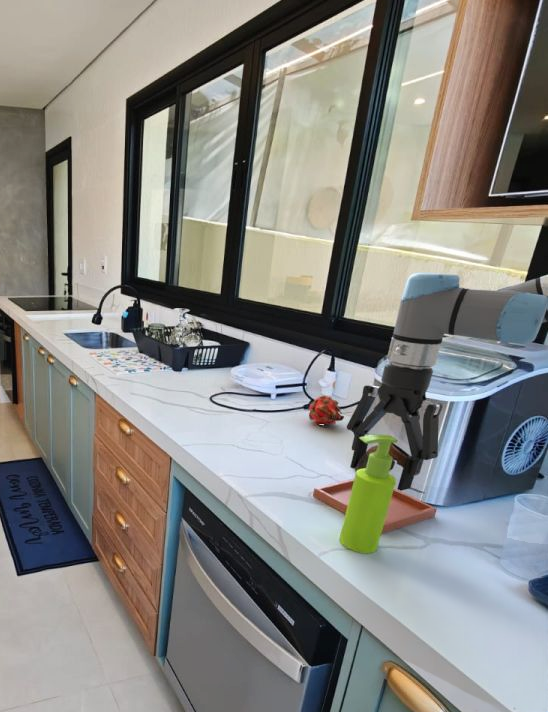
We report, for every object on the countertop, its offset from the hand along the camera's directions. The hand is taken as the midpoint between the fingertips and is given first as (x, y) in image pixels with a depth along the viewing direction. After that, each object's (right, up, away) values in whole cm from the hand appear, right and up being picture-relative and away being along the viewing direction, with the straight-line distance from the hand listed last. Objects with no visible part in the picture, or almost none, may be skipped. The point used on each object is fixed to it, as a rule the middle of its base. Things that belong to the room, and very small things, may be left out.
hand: (378, 477), depth 98 cm
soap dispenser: (-10, -11, -11) cm, 18 cm away
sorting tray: (0, -6, +2) cm, 6 cm away
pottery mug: (0, -1, 0) cm, 1 cm away
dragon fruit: (+10, +12, +48) cm, 50 cm away
